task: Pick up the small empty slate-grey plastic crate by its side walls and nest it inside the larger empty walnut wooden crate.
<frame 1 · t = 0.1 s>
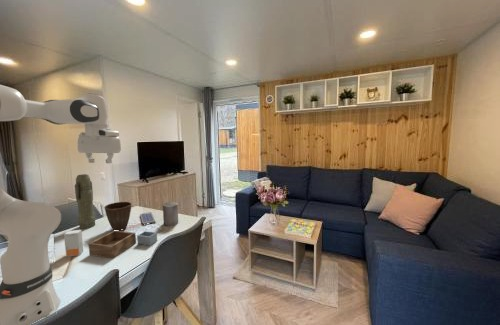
hand: (100, 163, 99), 48 cm above the table, fingers open, 8 cm apart
big crate: (114, 248, 118), on the table
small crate: (147, 242, 124), on the table
solar panel: (147, 219, 160), on the table
skincare box: (75, 254, 112), on the table
thermos: (87, 226, 147), on the table
pillar candle: (171, 223, 152), on the table
plant pot: (120, 229, 143), on the table
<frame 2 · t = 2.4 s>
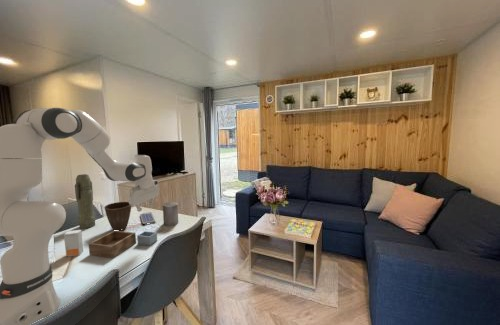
hand: (145, 208, 122), 20 cm above the table, fingers open, 8 cm apart
nothing on the table moved.
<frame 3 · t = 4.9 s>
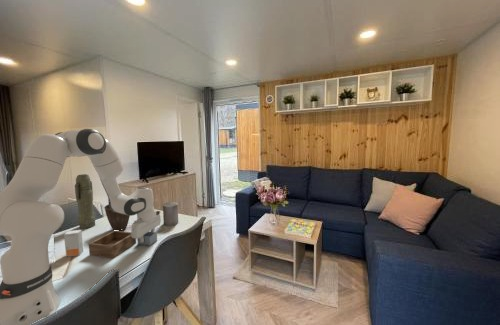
hand: (147, 238, 124), 2 cm above the table, fingers closed on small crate, 6 cm apart
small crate: (147, 242, 124), on the table, touching gripper
everything else where it was.
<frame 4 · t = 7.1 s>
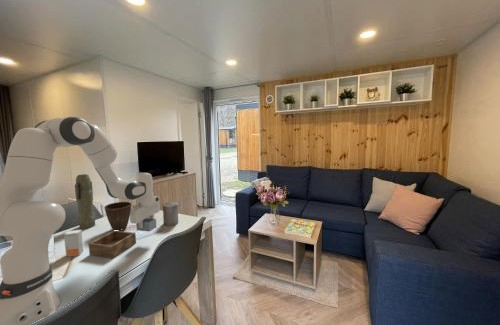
hand: (146, 225, 123), 10 cm above the table, fingers closed on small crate, 6 cm apart
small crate: (146, 228, 123), point 8 cm above the table, touching gripper
everything else where it was.
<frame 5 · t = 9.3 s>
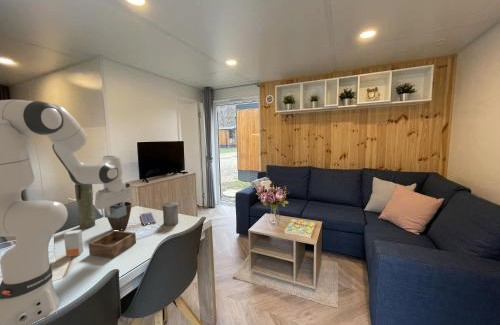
hand: (115, 212, 116), 20 cm above the table, fingers closed on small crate, 6 cm apart
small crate: (115, 216, 116), point 18 cm above the table, touching gripper
everything else where it was.
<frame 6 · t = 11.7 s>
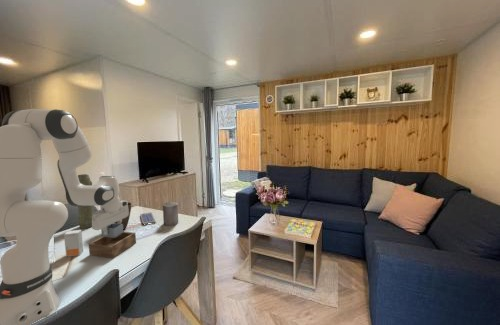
hand: (112, 230, 117), 10 cm above the table, fingers closed on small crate, 6 cm apart
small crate: (113, 234, 117), point 8 cm above the table, touching gripper
everything else where it was.
when the fingers open (5 cm above the table, at t = 13.6 s): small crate drops 2 cm, resting on big crate.
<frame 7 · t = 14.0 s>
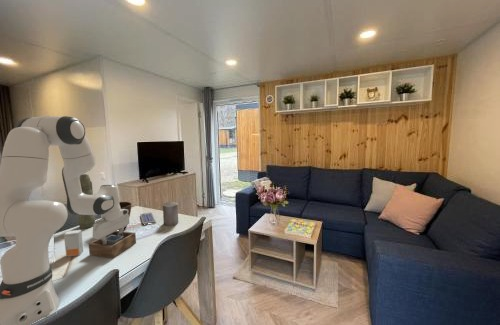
hand: (113, 239, 117), 5 cm above the table, fingers open, 8 cm apart
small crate: (113, 246, 117), point 1 cm above the table, touching big crate
everything else where it was.
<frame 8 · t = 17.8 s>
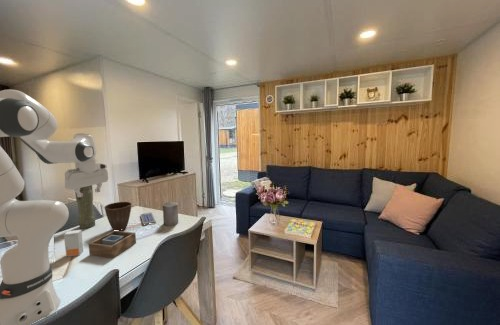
hand: (89, 194, 109), 31 cm above the table, fingers open, 8 cm apart
nothing on the table moved.
at the end: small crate inside the target area on the big crate (0.1 cm from its centre), point 1.0 cm above the big crate's base; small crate tilted 0°; the gripper is holding nothing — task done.
